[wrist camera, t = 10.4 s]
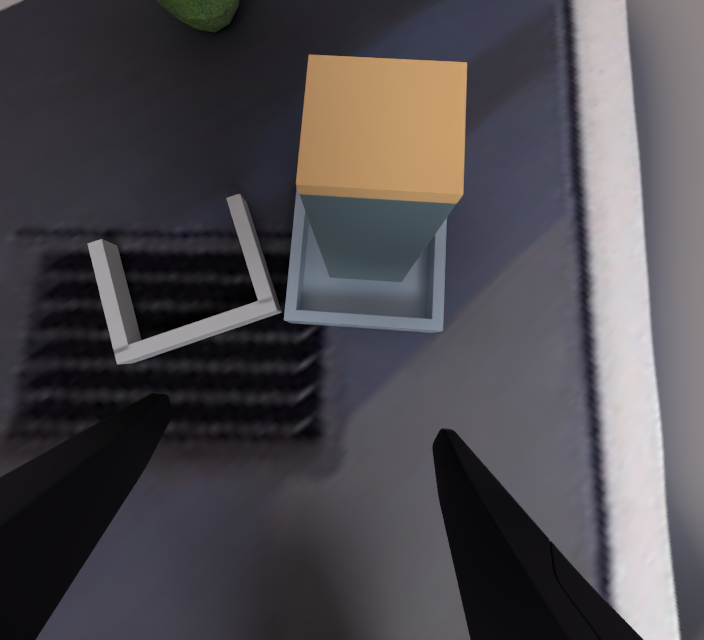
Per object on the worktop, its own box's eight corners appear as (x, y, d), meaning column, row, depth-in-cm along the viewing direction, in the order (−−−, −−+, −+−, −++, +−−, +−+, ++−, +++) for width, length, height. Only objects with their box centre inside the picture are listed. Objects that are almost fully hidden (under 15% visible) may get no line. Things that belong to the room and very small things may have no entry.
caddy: (401, 282, 18) (463, 194, 8) (329, 277, 18) (295, 184, 8) (404, 222, 19) (467, 62, 8) (334, 217, 19) (308, 54, 8)
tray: (433, 332, 18) (443, 331, 16) (291, 323, 18) (283, 320, 17) (438, 185, 19) (448, 166, 17) (305, 177, 20) (299, 158, 18)
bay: (281, 312, 19) (276, 310, 17) (132, 363, 18) (116, 364, 17) (247, 202, 19) (239, 193, 18) (104, 250, 19) (87, 243, 18)
